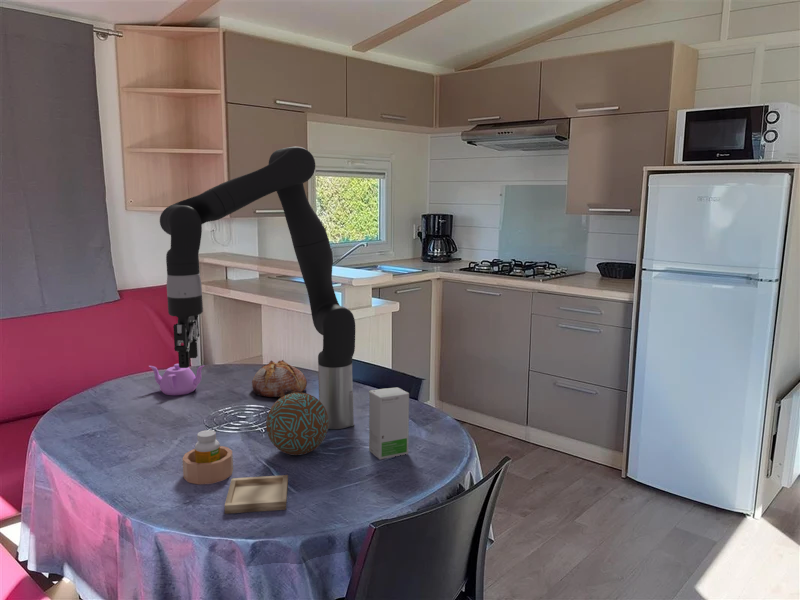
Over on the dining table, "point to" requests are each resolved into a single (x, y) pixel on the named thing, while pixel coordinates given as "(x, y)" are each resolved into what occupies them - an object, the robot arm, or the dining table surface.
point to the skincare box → (388, 422)
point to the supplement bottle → (207, 447)
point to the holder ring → (208, 468)
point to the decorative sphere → (297, 423)
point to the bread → (278, 380)
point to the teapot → (177, 380)
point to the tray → (257, 494)
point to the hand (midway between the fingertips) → (188, 362)
